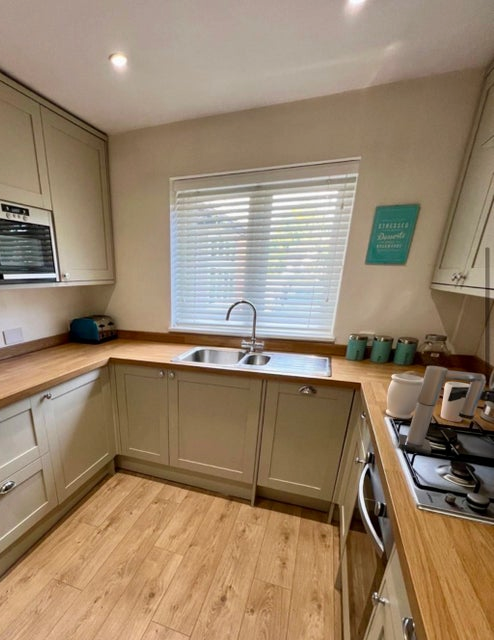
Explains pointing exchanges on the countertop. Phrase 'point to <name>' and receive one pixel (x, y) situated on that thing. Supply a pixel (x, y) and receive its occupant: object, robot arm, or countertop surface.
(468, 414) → the spout
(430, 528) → the countertop surface
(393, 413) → the jar
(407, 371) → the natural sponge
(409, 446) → the tap base
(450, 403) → the foam cup
